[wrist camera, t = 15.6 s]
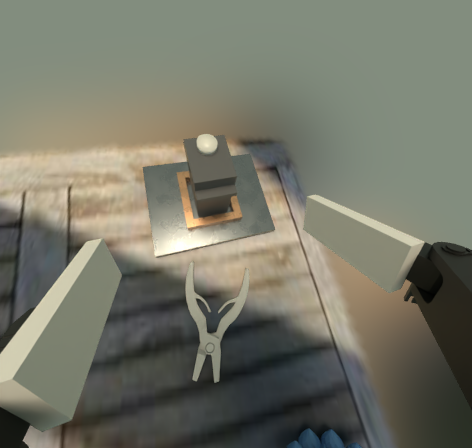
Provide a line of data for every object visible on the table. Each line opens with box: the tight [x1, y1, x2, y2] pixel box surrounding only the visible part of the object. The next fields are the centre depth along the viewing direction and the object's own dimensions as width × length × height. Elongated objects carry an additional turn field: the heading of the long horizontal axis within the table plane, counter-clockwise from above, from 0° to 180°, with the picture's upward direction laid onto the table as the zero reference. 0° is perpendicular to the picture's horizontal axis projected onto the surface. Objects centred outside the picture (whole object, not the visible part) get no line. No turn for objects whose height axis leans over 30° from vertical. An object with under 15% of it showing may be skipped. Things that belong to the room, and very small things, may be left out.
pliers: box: [186, 262, 249, 383], centre depth 26 cm, size 10×2×15 cm
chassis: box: [143, 154, 275, 257], centre depth 31 cm, size 20×16×2 cm
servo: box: [183, 134, 237, 217], centre depth 26 cm, size 5×8×12 cm, turn 16°
